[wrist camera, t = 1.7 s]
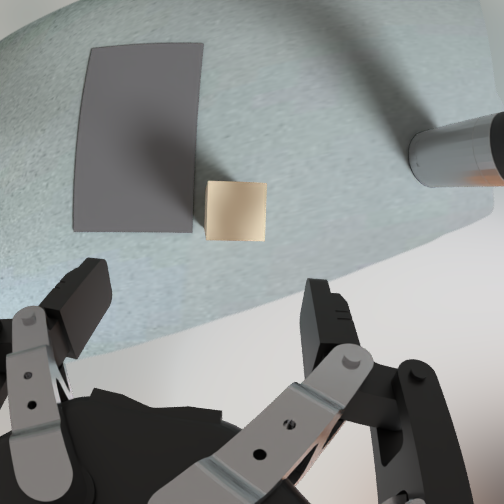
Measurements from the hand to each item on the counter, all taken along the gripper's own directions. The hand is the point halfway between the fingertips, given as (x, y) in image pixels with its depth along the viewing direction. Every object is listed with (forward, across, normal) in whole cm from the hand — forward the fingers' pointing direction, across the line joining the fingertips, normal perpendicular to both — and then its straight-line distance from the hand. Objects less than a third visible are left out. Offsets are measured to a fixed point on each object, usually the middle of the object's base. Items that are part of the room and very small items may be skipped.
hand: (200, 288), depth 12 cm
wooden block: (+28, +2, +7) cm, 30 cm away
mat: (+30, +15, -2) cm, 33 cm away
